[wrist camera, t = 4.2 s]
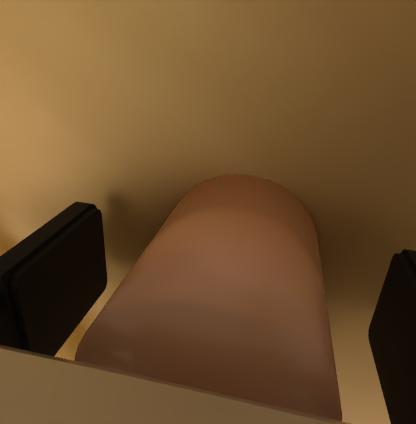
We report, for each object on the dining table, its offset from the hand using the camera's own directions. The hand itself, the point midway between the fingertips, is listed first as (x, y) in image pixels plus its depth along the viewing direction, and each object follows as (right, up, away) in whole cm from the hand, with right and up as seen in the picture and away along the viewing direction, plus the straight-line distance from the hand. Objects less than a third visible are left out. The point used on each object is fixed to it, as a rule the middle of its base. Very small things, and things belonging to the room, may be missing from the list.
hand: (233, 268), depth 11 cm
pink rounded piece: (0, +1, +1) cm, 1 cm away
